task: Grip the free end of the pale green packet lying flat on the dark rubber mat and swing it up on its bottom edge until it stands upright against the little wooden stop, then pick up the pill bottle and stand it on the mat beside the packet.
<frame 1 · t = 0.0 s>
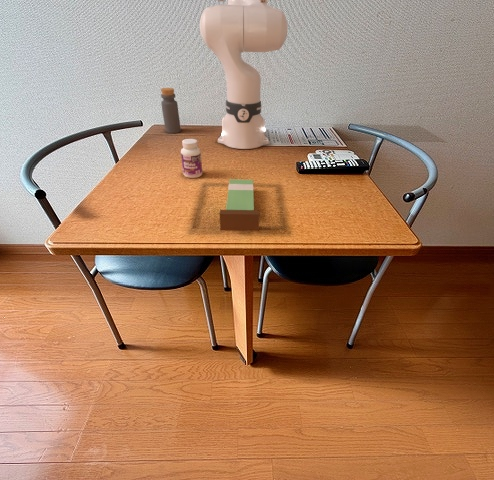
hand: (242, 1, 63), 39 cm above the table, tool pointing down, fingers open, 8 cm apart
mat: (240, 205, 69), on the table
pill bottle: (193, 175, 82), on the table
bottle: (173, 131, 114), on the table
packet: (240, 197, 68), point 2 cm above the table, hinge at 88.0°
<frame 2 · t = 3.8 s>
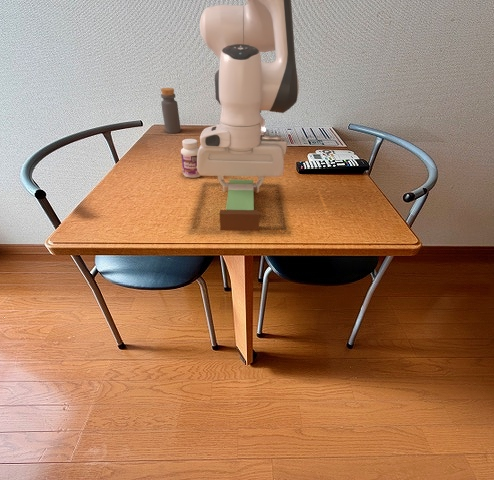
hand: (240, 191, 71), 2 cm above the table, tool pointing down, fingers closed on packet, 6 cm apart
packet: (240, 197, 68), point 2 cm above the table, hinge at 88.1°, touching gripper
everything else where it was.
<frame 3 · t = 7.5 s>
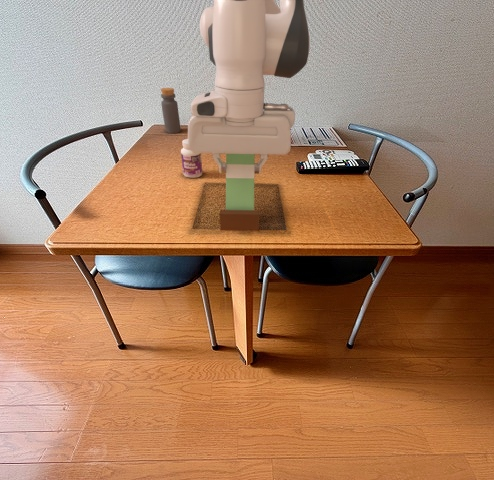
hand: (240, 172, 61), 10 cm above the table, tool pointing down, fingers closed on packet, 6 cm apart
packet: (240, 186, 62), point 7 cm above the table, hinge at 36.5°, touching gripper
everything else where it was.
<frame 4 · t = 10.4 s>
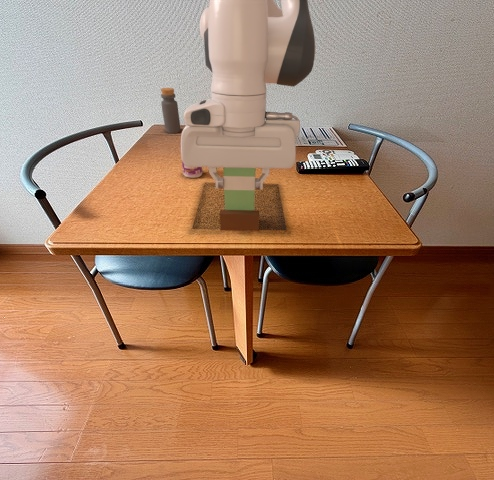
hand: (239, 188, 55), 10 cm above the table, tool pointing down, fingers closed on packet, 6 cm apart
packet: (239, 194, 58), point 8 cm above the table, hinge at -0.7°, touching gripper, mat
everything else where it was.
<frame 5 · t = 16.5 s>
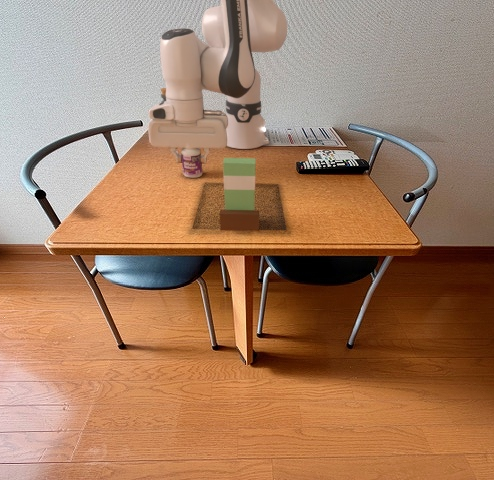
hand: (191, 162, 80), 4 cm above the table, tool pointing down, fingers closed on pill bottle, 5 cm apart
pill bottle: (193, 175, 82), on the table, touching gripper
packet: (239, 193, 58), point 8 cm above the table, hinge at -0.1°
everything else where it was.
when the fingers open (4 cm above the table, at t = 23.3 s): pill bottle stays where it is, resting on mat.
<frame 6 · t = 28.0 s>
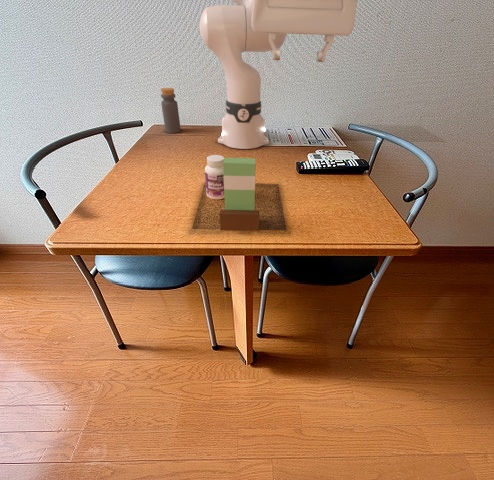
hand: (298, 60, 61), 29 cm above the table, tool pointing down, fingers open, 8 cm apart
pill bottle: (217, 195, 72), resting on mat
everything else where it was.
at the end: packet at +0° (first picture: +88°); pill bottle inside the target area on the mat (0.1 cm from its centre), point 0.4 cm above the mat's base; pill bottle tilted 0° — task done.
